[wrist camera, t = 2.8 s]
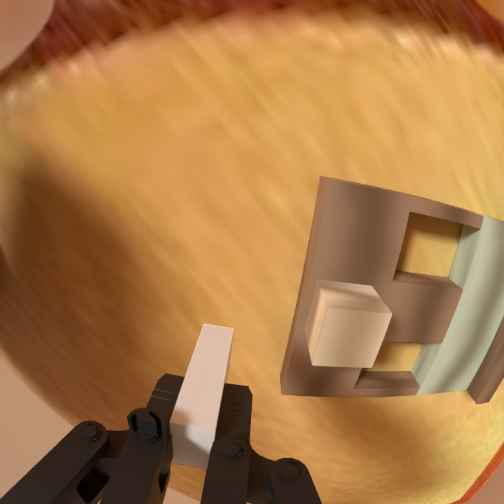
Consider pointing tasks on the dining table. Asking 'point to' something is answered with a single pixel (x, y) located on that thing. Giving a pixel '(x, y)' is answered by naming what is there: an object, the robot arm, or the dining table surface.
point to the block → (345, 324)
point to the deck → (404, 296)
